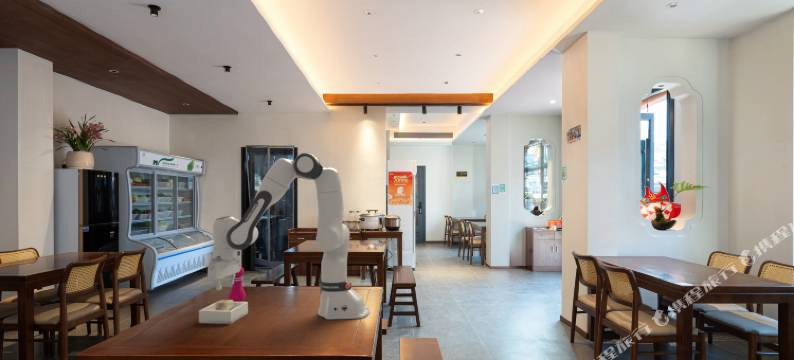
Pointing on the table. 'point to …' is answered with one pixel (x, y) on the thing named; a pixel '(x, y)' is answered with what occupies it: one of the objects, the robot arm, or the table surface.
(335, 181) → the robot arm
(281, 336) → the table surface
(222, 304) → the birch block
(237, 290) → the pepper mill
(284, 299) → the table surface
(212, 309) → the serving bin
